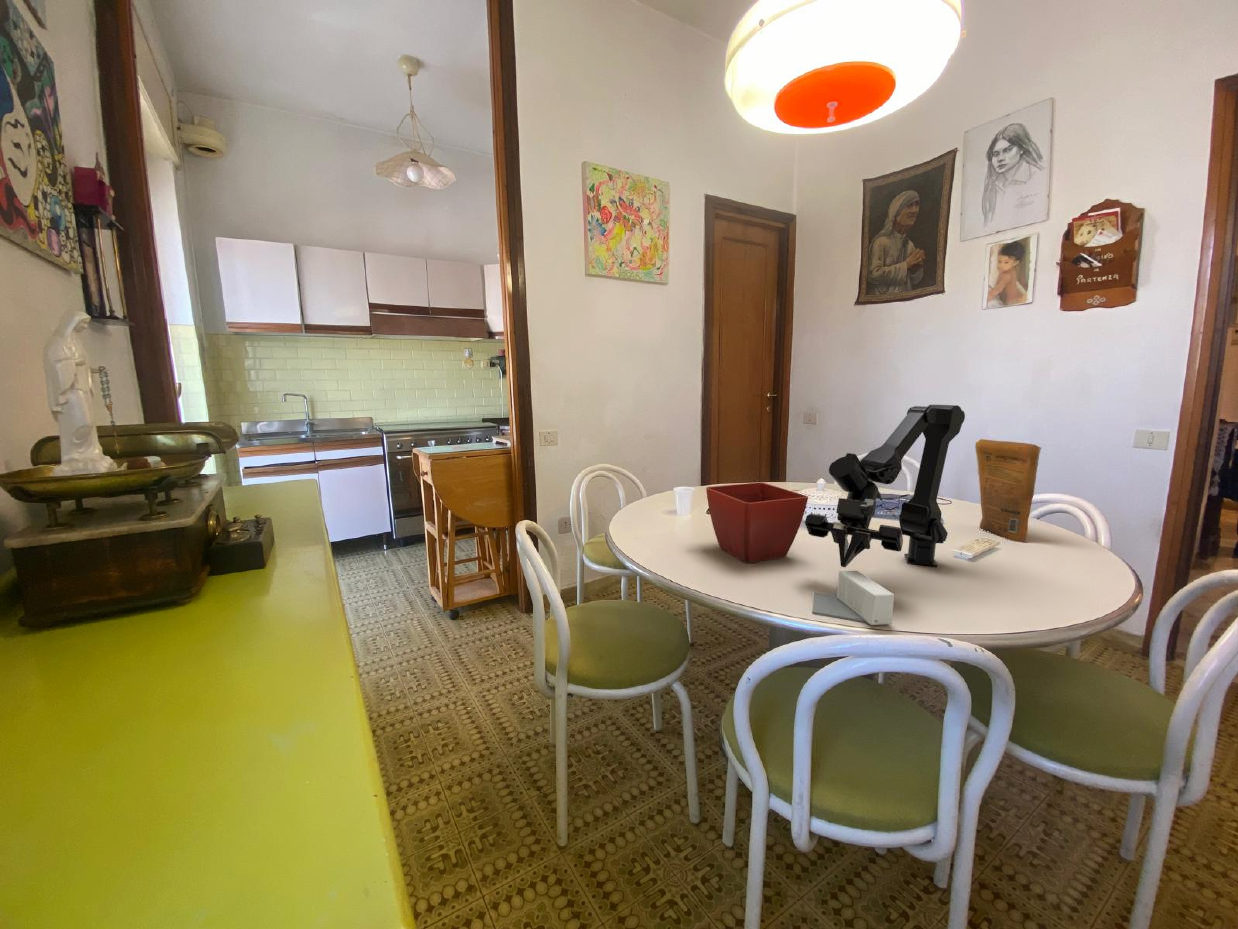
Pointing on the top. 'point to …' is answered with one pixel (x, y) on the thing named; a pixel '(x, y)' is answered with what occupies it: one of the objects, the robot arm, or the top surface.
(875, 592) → the skincare box
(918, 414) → the robot arm
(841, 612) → the mat
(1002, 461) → the pancake mix bag
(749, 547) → the plant pot
